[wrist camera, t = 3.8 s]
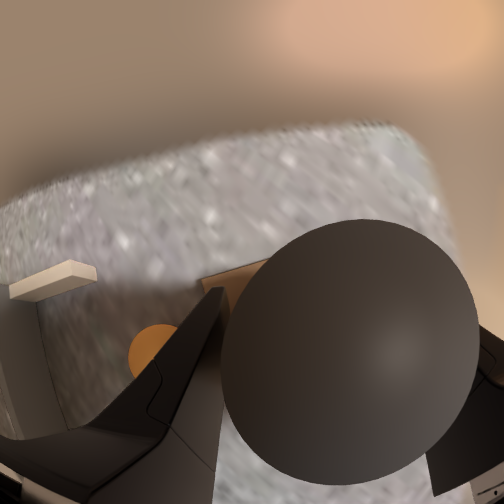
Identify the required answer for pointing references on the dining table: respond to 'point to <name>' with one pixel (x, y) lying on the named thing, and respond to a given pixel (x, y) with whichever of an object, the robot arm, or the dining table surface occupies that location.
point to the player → (350, 352)
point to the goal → (33, 349)
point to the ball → (147, 346)
